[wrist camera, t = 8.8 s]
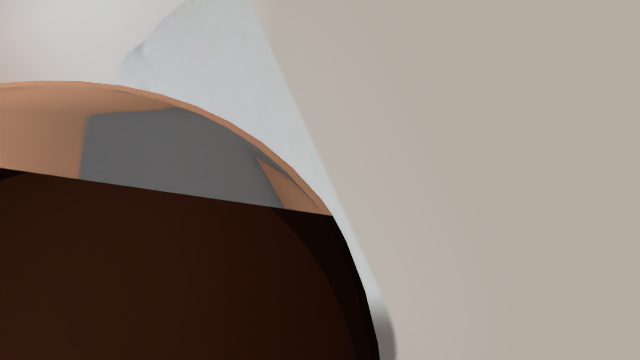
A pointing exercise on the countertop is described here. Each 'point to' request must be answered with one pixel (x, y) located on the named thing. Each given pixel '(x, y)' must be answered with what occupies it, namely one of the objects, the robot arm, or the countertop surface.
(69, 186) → the plug
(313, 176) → the countertop surface
